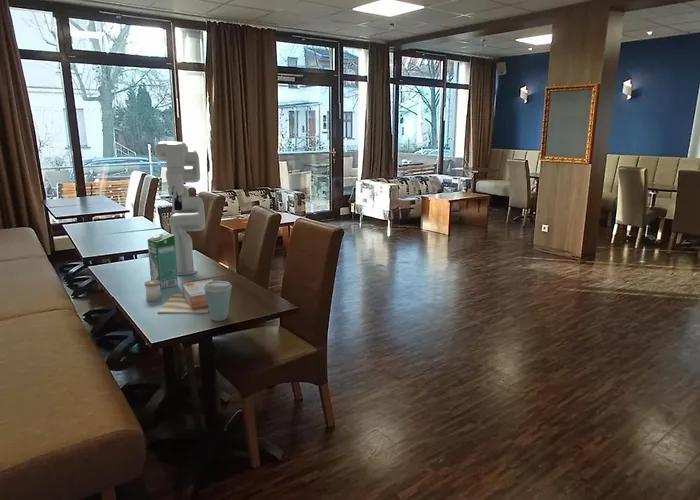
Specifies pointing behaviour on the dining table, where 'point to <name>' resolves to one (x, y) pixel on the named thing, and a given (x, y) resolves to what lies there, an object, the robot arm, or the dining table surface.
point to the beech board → (180, 306)
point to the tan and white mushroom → (153, 290)
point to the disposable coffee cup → (218, 299)
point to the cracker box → (195, 293)
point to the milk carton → (163, 259)
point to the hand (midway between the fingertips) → (178, 209)
